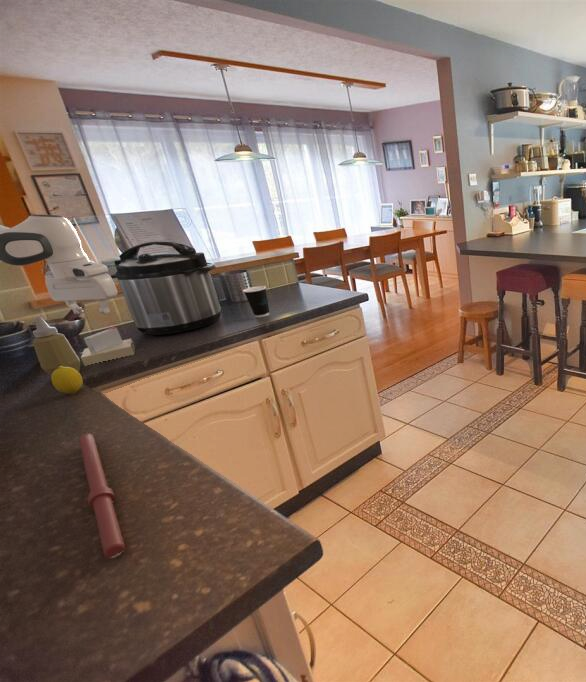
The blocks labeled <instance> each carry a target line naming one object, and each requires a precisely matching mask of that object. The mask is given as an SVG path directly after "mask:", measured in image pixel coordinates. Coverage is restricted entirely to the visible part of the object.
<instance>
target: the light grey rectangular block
mask: <svg viewBox="0 0 586 682" xmlns="http://www.w3.org/2000/svg"><path fill="white" fill-rule="evenodd" d="M83 340H84V342H85V344H86V347H87V348H88V349H89V351H90V353H97V352H100V351H102V350H105V349H107V348H109V347H112V346H114V345H117V344H119V343H122V342H123V338H122V336H121V334H120V331H119V329H118V328H117V327H109V328H108V329H106V330H103V331H100V332H97V333H94V334H92V335H89V336H85V337H84V338H83Z"/></svg>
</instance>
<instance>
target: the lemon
mask: <svg viewBox="0 0 586 682" xmlns="http://www.w3.org/2000/svg"><path fill="white" fill-rule="evenodd" d="M50 378H51V383H52V385H53V387H54V389H55V390H57V391H58V392H61V393H64V394H67V393H68V394H71V395H74V394H76V393H77V391H79V390H80V389H81V388H82V386H83V383H84V382H83V381H84V380H83V376H82V375H81V373H80V371H79V372H78V371H77V370H75V369H74V368H71V367H63V366H60V367H59V368H58V369H56V370H55V371H54V372H53V373H52V376H50Z"/></svg>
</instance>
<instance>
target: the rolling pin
mask: <svg viewBox="0 0 586 682" xmlns="http://www.w3.org/2000/svg"><path fill="white" fill-rule="evenodd" d="M78 443H79V448H80V453H81V457H82V461H83V467H84V471H85V474H86V479H87V484H88V489H89V494H88V496H87V503H88V507H89V509H90V510H92V509H94V510H93V512H94V516H95V521H96V525H97V529H98V535H99V539H100V544H101V548H102V552H103V556H104V558H105V559H107V558H110V557H112V556H114V555H116V554H117V553H120V552H122V551H124V549H125V550H126V545H125V542H124V539H123V535H122V531H121V527H120V523H119V521H118V517H117V513H116V510H115V507H114V504H113V503H112V501H115V502H116V496H115V493H114V491H113V489H112V488H111V487H109V486H108V482H107V478H106V475H105V470H104V467H103V464H102V462H101V461H102V460H101V457H100V454H99V451H98V446H97V444H96V440H95V436H94V435H93V434H92V433H84V434H82V435H81V436H79V438H78ZM124 552H125V551H124Z"/></svg>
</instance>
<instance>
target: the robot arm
mask: <svg viewBox="0 0 586 682" xmlns="http://www.w3.org/2000/svg"><path fill="white" fill-rule="evenodd" d="M43 260H45V261H46V264H47V265H48V268H49V269H50V270H47V271H46V273H45V275H44V278H45V279H44V281H45V282H44V283H45V286H46V290H47V292H48V294H49V297H50V299H52V301H54V302H64V303H65V305H66V306H67V307H68V308H70V309H71V310H72V312H73V314H74V315H82V314H84V313H85V311H84V308H83V307H80V306H79V305H78V303H77V301H96V300H97V302H98V304H100V307H98V311H99V313H100V314H108V313H110V312H111V309H110V308H109V307H110V305H109V304H110V299H113V298H117V296H118V293H119V292H118V288H117V286H116V284H115V282H114V279H112V278H111V275H110V274H109V273H108V272H109V268H108V266H107V265H106V264H103V263H99V262H95V261H93V260H90V259H89V257H88V255H87V254H86V253H85V251H84V249H83V248H82V241H81V239H80V237H79V235H78V233H77V231H76V229H75V227H74V226H73V224H72V223H71V222H70V220H68V218H65V217H64V216H61V215H59V214H37V213H36V214H31V215H29V216H28V217H27V218H25V220H23V221H22V222H20V223H18V224H17V225H15V226H12V227H10V226H6V225H3V224H1V223H0V262H2V263H4V264H7V265H11V266H16V267H17V266H18V267H23V266H29V265H32V264H35V263H38V262H41V261H43Z"/></svg>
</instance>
